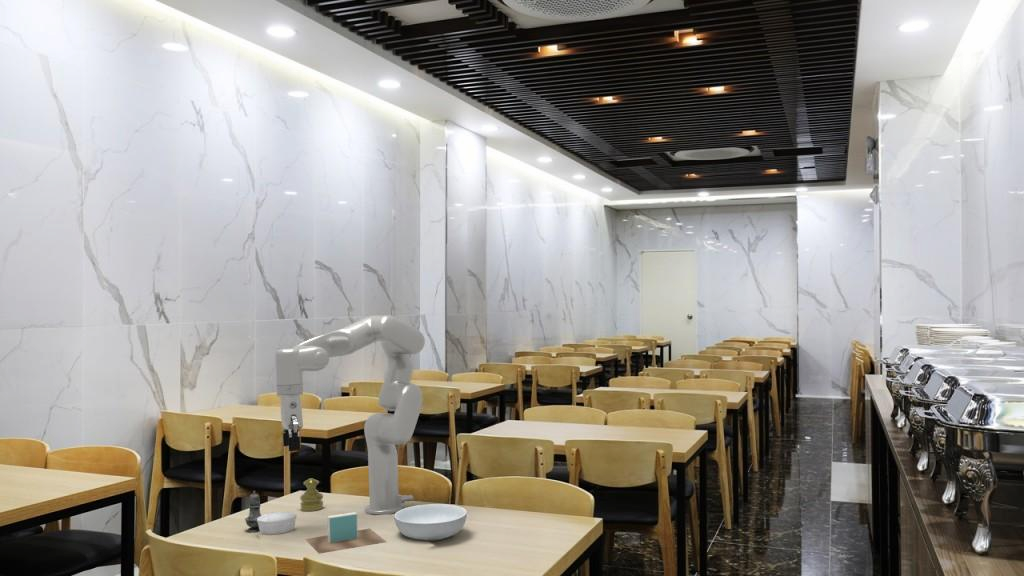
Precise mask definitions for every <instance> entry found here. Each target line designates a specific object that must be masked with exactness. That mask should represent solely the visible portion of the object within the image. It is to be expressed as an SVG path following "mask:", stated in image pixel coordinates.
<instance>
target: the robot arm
mask: <svg viewBox="0 0 1024 576" xmlns="http://www.w3.org/2000/svg"><path fill="white" fill-rule="evenodd" d="M376 342H380V344H381V347H382V350H383V351H384V353H385V356H386V359H387V371H386V374H385V377H384V380H383V383H382V386H381V389H380V392H379V395H378V404H379V407H381V408H382V409H384V410H385V411H386V410H387V411H391V412H394V413H387V412H377V413H374V414H373V413H372V414H371V415H369V416H368V418H367V419H366V420H365V422H364V428H363V431H364V437H365V441H366V446H367V456H368V457H367V461H368V463H367V466H368V490H369V492H368V493H369V504H368V505H366V506H365V507H364V512H365V513H367V514H369V515H390V514H395V513H396V512H398V511H399V510H402V509H404V508H405V506H404V505H405V504H404V503H405V502H413V501H414V495H412V494H411V495H410V494H409V495H407V494H403V495H402V494H400V492H399V469H398V468H399V467H398V465H399V463H398V461H399V459H398V458H399V456H398V451H397V448H396V445H405V444H407V443H408V442H409V441H410V440H411V438H412V436H413V434H414V431H415V429H416V425H417V423H418V420H419V416H420V412H421V410H422V406H423V400H424V399H423V397H424V396H423V393H422V392H423V391H422V390H421V388H420V387H419V386H418V385H417V384H415V383H412V382H411V381H412V377H413V373H414V366H413V362H412V359H411V357H410V355H417V354H419V353H421V351H422V350H423V349H424V347H425V343H426V340H425V336H424V334H423V333H422V332H421V330H419V329H418V328H416V327H415V326H414V325H410V324H409V323H406V322H405V321H403V320H402V319H400V318H397V317H395V316H393V315H388V314H387V315H384V314H383V315H375V314H374V315H368V316H367V317H364V318H362V319H359V320H357V321H356V322H353V323H351V324H348V325H347V326H344V327H342V328H340V329H337V330H334V331H330V332H328V333H324V334H322V335H319V336H315V337H312V338H310V339H308V340H305V341H302V342H301V343H298V344H295V346H293V347H291V348H281V349H278V350H277V351H275V355H274V356H275V381H276V382H275V383H276V384H275V385H276V388H275V389H276V397H280V419H281V421H280V423H281V426H282V427H283V428H282V442H283V443H282V444H283V447H288V451H289V452H295V451H297V452H298V451H301V436H300V430H301V429H303V427H304V421H303V411H302V409H303V407H302V400H301V396H303V394H304V390H303V385H304V384H303V383H304V382H303V372H305V371H306V372H307V371H308V372H319V371H321V370H323V369H325V368H326V367H327V366H328V365H329V361H330V358H333V357H335V358H336V357H343V356H347V355H352V354H354V353H355V352H357V351H359V350H361V349H364V348H366V347H368V346H369V345H372V344H374V343H376Z"/></svg>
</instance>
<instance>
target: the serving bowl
mask: <svg viewBox="0 0 1024 576" xmlns="http://www.w3.org/2000/svg"><path fill="white" fill-rule="evenodd" d="M467 515H468V510H467V509H466V508H464V507H462V506H458V505H456V504H455V505H454V504H448V503H447V504H445V503H428V504H418V505H414V506H413V505H412V506H408V507H404V509H402V510H399V511H398V512H395V513H394V516H393V517H394V523H395V525H396V528H397V530H398V531H399V532H400V534H402V535H404V536H405V537H408V538H410V539H414V540H421V541H428V542H433V541H439V540H443V539H445V538H449V537H452V536H455V535H456V534H458V533H459V532H460V531H461V530H462V529H463V527H464V526H465V524H466V521H467Z"/></svg>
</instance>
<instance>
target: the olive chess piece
mask: <svg viewBox="0 0 1024 576" xmlns="http://www.w3.org/2000/svg"><path fill="white" fill-rule="evenodd" d="M319 483H320V481H319V480H317V479H314V478H308V479H306V480H304V481H303V485H304V486H305V487H306V488H307V489H306V490H305V491H304V493H303V494H301V495H300V496H299V498H300V501H301V502H300V510H301V511H303V512H315V511H314V510H316V511H319V509H320V510H322V509H323V508H324V500H323V498H324V494H323V493H321V492H319V490H318V489H316V488H317V485H319Z"/></svg>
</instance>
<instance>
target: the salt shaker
mask: <svg viewBox="0 0 1024 576" xmlns="http://www.w3.org/2000/svg"><path fill="white" fill-rule="evenodd" d="M248 500H249V505H248V508H249V509H248V510H249V513H248V516H247V517H245V518H244V521H245V523H246V526H248V528H247V529H246V531H245V532H247V533H258V531H259V532H260V530H259V525H258V523H257V518H258V517H260V516H262V515H263V514H262V513H261V509H260V508H261V506H262V505H261V504H260V494H258V493H256V490H253V492H252V493H251V494H250V495H249V499H248Z"/></svg>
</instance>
